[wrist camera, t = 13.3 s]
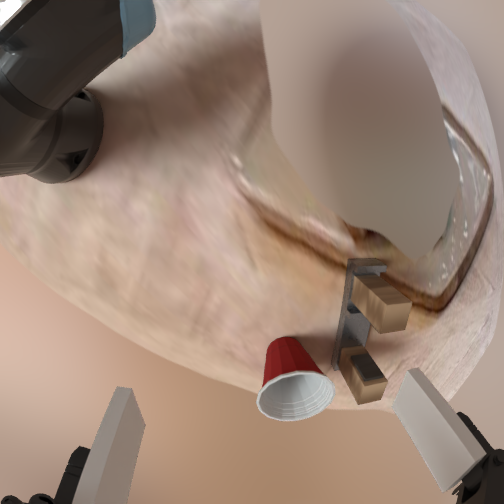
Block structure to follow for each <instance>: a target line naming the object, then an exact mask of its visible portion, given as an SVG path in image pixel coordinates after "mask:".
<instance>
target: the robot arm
mask: <svg viewBox="0 0 504 504" xmlns="http://www.w3.org/2000/svg"><path fill="white" fill-rule="evenodd" d="M155 24H156V12H155V7H154V4H153V0H0V177H5V176H13V175H21V174H27V175H29V176H31V177H33V178H35V179H37V180H39V181H41V182H44V183H49V184H55V183H63V182H67V181H70V180H72V179H74V178H75V177H77V176H78V175H80V174H81V173H82V172H83V171H84V170H85V169H86V168H87V167H88V165H89V164H90V163H91V161H92V160H93V158H94V156H95V154H96V152H97V150H98V148H99V145H100V142H101V138H102V133H103V114H102V110H101V107H100V104H99V102H98V100H97V99H96V98H95V96H94V95H92V94H91V93H90V92H88V91H86V90H84V89H83V88H84V87H85V86H86V85H87V84H88V83H89V82H91V81H92V80H93V79H94V78H95V77H96V76H98V75H99V74H100V73H101V72H102V71H104V70H105V69H106V68H107V67H109V66H110V65H111V64H113V63H114V62H115V61H116V60H118V59H119V58H121V59H122V58H123V57H125V56H126V54H127V52H128V51H129V50H131V49H132V48H133V47H135V46H136V45H137V44H139V43H140V42H141V41H143V40H144V39H146V38H147V37H148V36H149V35H150V34H151V33H152V32H153V30H154V27H155ZM392 408H393V410H394V411H395V413H396V415H397V416H398V418H399V419H400V421H401V423H402V424H403V426H404V428H405V429H406V431H407V433H408V434H409V436H410V438H411V439H412V441H413V443H414V444H415V446H416V448H417V449H418V451H419V453H420V454H421V456H422V458H423V459H424V461H425V463H426V465H427V466H428V468H429V470H430V471H431V473H432V475H433V477H434V479H435V480H436V482H437V484H438V486H439V488H440V489H441V491H442V493H444V492H445V491H447V490H449V489H450V488H452V487H454V486H455V485H456V484H457V483H458V482H459V481H460V480H462V483H461V484H460V485H459V486H458V487H457V488H456V489H455V490H454V491H453V493H452V495H454V494H455V493H456V492H457V491H458V490H459V492H458V493H457V494H456V495H458V498H457V503H456V504H504V450H502V449H496V450H494V449H493V448H492V447H491V446H490V444H489V443H488V442H487V440H486V439H485V438H484V436H483V435H482V434H481V433H480V431H479V430H477V427H476V426H475V425H473V422H472V421H471V420H470V419H469V417H468V416H466V415H465V414H463V413H462V412H458V413H455V411H454V410H453V409H452V407H451V406H450V405H449V404H448V402H447V401H446V400H445V399H444V398H443V396H442V395H441V394H440V393H439V391H438V390H437V389H436V388H435V387H434V385H433V384H432V383H431V382H430V381H429V379H428V378H427V377H426V376H425V375H424V373H423V372H422V371H421V370H420V369H419V368H414V369H410V370H407V372H406V374H405V377H404V379H403V382H402V384H401V387H400V389H399V391H398V394H397V396H396V398H395V400H394V402H393V405H392ZM144 429H145V422H144V420H143V417H142V415H141V412H140V409H139V407H138V404H137V401H136V399H135V396H134V393H133V390H132V388H125V387H118V386H117V387H116V390H115V392H114V394H113V397H112V399H111V401H110V403H109V406H108V408H107V410H106V413H105V415H104V418H103V420H102V422H101V425H100V427H99V430H98V432H97V435H96V437H95V440H94V443H93V445H92V448H91V449H88V448H85V447H81V446H79V447H78V448H77V449H76V450H75V451H74V452H73V453H72V454H71V457H70V459H69V462H68V465H67V467H66V469H65V472H64V474H63V477H62V480H61V483H60V485H59V488H58V490H57V493H56V496H55V498H54V499H53V498H51V497H50V496H48V495H46V494H36V495H33V496H32V497H31V499H30V500H29V503H23V502H22V501H20V500H19V499H18V498H17V497H15V496H12V495H10V496H6V497H4V498H3V500H2V501H1V504H127V501H128V496H129V491H130V487H131V482H132V478H133V473H134V469H135V465H136V460H137V457H138V452H139V448H140V444H141V440H142V436H143V433H144Z"/></svg>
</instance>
